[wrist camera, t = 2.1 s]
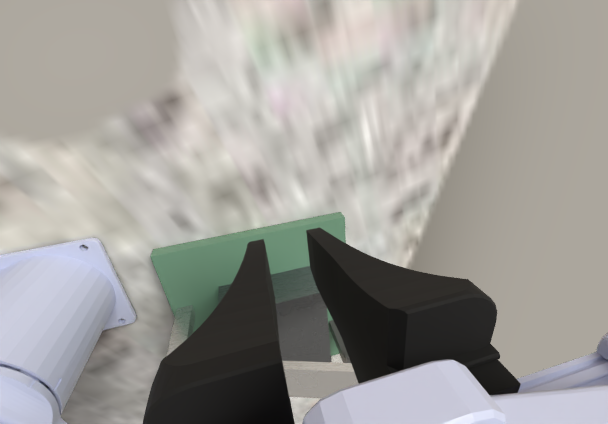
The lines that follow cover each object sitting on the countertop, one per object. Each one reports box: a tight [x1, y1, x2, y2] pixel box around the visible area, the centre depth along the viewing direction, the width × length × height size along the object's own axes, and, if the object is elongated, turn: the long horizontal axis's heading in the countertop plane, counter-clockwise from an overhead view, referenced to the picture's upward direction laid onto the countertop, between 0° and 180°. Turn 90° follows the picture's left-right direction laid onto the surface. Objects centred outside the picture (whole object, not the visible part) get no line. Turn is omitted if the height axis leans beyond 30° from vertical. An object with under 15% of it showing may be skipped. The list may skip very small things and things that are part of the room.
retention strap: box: [282, 361, 359, 398], centre depth 20 cm, size 14×3×1 cm, turn 96°
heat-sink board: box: [150, 212, 351, 363], centre depth 24 cm, size 15×16×6 cm
